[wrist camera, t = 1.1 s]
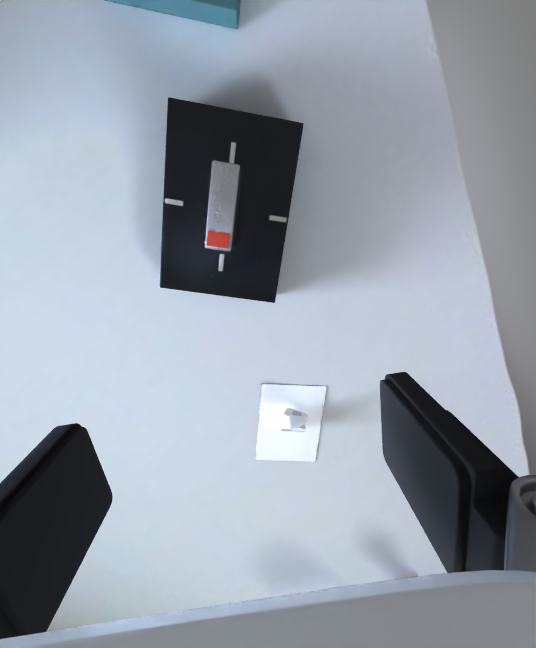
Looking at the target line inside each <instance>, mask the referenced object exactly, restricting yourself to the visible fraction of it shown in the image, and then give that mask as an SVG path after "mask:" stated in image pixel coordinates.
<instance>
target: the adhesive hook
mask: <svg viewBox="0 0 536 648" xmlns="http://www.w3.org/2000/svg"><path fill="white" fill-rule="evenodd" d="M281 418H282V419H283V420H285V421H286V424H287V426H286V428H281V429H280V432H281V433H304V434H305V433H306V430H307V427H306V423H307V422H308V421H309V414H308V413H307V412H304V411H301V410H298V409H295V408H292V407H287V408H286V409H285V410H284V411H283V413H282V416H281Z"/></svg>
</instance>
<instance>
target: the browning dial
mask: <svg viewBox="0 0 536 648" xmlns="http://www.w3.org/2000/svg"><path fill="white" fill-rule="evenodd" d="M241 182H242V173H241V168H240V165H238V164H233V163H227V162H221V161H216V160H213V161H212V167H211V179H210V191H209V202H208V214H207V226H206V237H205V248H208V249H215V250H222V251H229V252H230V251H231V250H232V249H233V247H234V243H235V234H236V226H237V217H238V208H239V199H240V190H241Z"/></svg>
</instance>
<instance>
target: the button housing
mask: <svg viewBox="0 0 536 648" xmlns="http://www.w3.org/2000/svg"><path fill="white" fill-rule="evenodd" d="M106 1H110V2H115V3H119V4H124V5H129V6H133V7H138V8H142V9H147V10H152V11H156V12H161V13H166V14H170V15H175V16H179V17H184V18H189V19H193V20H198V21H202V22H207V23H212V24H216V25H221V26H225V27H230V28H235V29H238V24H239V13H240V3H241V0H106Z"/></svg>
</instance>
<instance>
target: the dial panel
mask: <svg viewBox="0 0 536 648" xmlns="http://www.w3.org/2000/svg"><path fill="white" fill-rule="evenodd" d="M302 130H303V123H299V122H294V121H289V120H284V119H279V118H273V117H268V116H263V115H258V114H252V113H247V112H242V111H237V110H232V109H226V108H221V107H216V106H211V105H206V104H200V103H195V102H190V101H185V100H179V99H174V98H168V112H167V134H166V157H165V179H164V202H163V224H162V247H161V269H160V287H161V288H168V289H176V290H183V291H191V292H198V293H206V294H213V295H221V296H228V297H236V298H243V299H250V300H258V301H265V302H273V303H275V298H276V292H277V286H278V279H279V273H280V267H281V261H282V255H283V248H284V242H285V236H286V230H287V223H288V217H289V211H290V205H291V199H292V192H293V186H294V180H295V174H296V168H297V161H298V155H299V149H300V143H301V136H302ZM213 160H216V161H221V162H227V163H233V164H238V165H240V168H241V173H242V182H241V190H240V199H239V208H238V217H237V226H236V234H235V243H234V247H233V249H232V250H231V251H230V252H229V251H222V250H215V249H208V248H205V237H206V226H207V214H208V202H209V191H210V179H211V167H212V161H213Z"/></svg>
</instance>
